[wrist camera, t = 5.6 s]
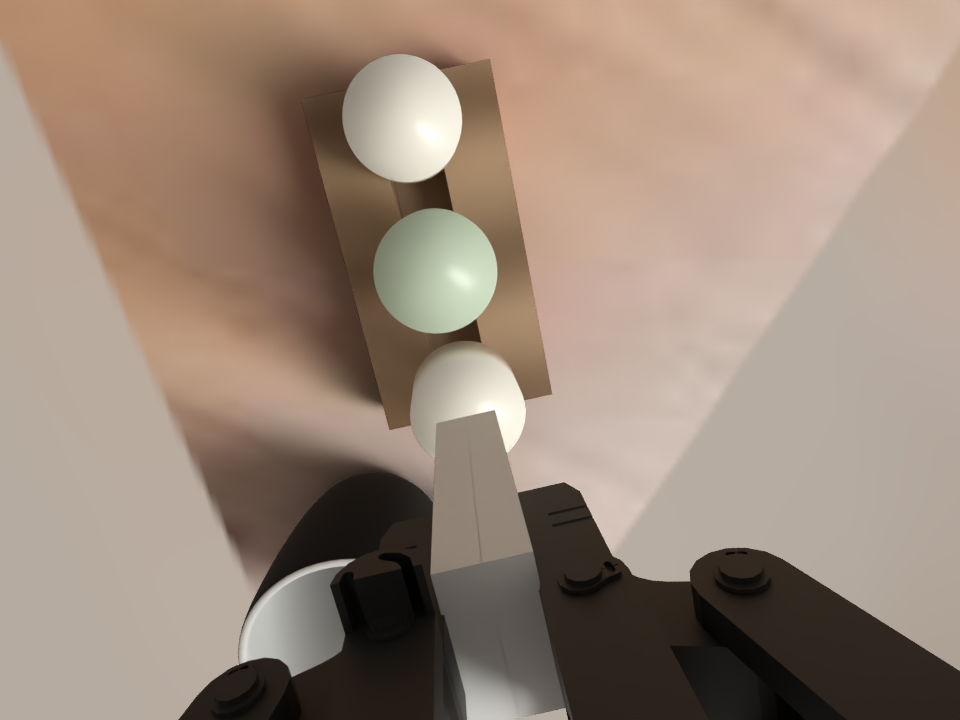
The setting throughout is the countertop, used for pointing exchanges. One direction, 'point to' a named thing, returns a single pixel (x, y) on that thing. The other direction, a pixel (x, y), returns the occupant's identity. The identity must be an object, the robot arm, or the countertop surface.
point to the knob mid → (435, 271)
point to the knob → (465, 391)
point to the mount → (458, 187)
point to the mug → (323, 569)
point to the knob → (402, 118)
